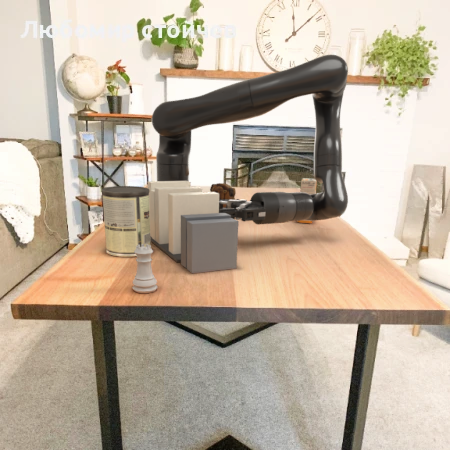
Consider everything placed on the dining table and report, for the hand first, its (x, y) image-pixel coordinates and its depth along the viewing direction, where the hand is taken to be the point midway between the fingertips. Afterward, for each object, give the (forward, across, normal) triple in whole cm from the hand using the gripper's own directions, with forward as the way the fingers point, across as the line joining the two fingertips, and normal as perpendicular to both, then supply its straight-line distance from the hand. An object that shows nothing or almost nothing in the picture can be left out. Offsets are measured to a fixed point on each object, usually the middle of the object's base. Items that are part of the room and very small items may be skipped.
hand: (211, 210), depth 101 cm
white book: (+4, 0, +9) cm, 10 cm away
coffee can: (+18, -6, +10) cm, 21 cm away
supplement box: (-44, -25, +10) cm, 52 cm away
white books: (+5, -6, +10) cm, 12 cm away
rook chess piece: (+21, +20, +10) cm, 31 cm away
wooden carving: (-22, -44, +10) cm, 50 cm away
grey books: (+5, +11, +10) cm, 15 cm away
